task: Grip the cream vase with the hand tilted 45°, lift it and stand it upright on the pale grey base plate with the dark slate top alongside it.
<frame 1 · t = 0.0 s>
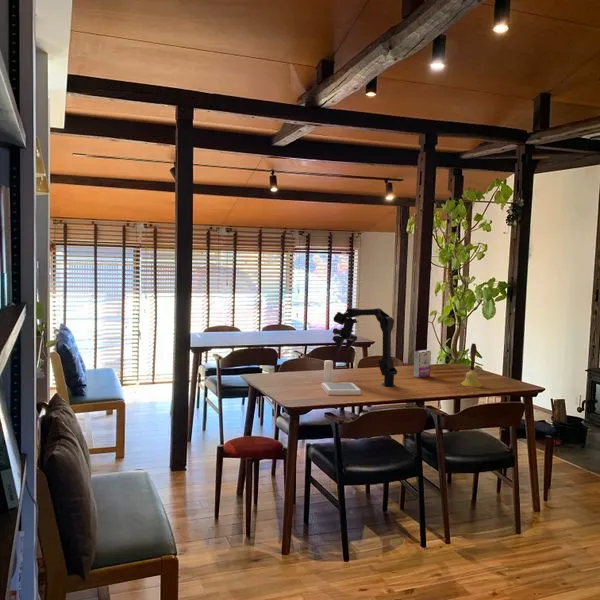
hand: (341, 351, 348), 15 cm above the table, tool pointing down, fingers open, 9 cm apart
cream vase: (327, 383, 327), on the table
candy bar box: (421, 376, 356), on the table
handbell: (471, 385, 336), on the table
base plate: (340, 390, 309), on the table
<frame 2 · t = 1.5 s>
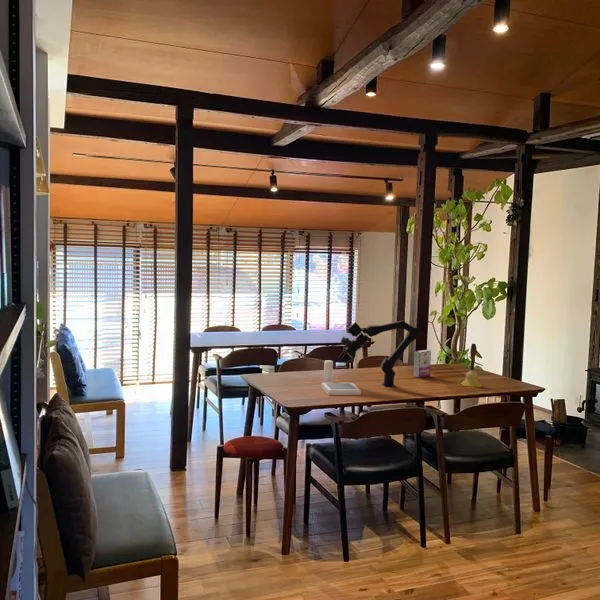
hand: (339, 360, 326), 13 cm above the table, tool tilted 45°, fingers open, 9 cm apart
nothing on the table moved.
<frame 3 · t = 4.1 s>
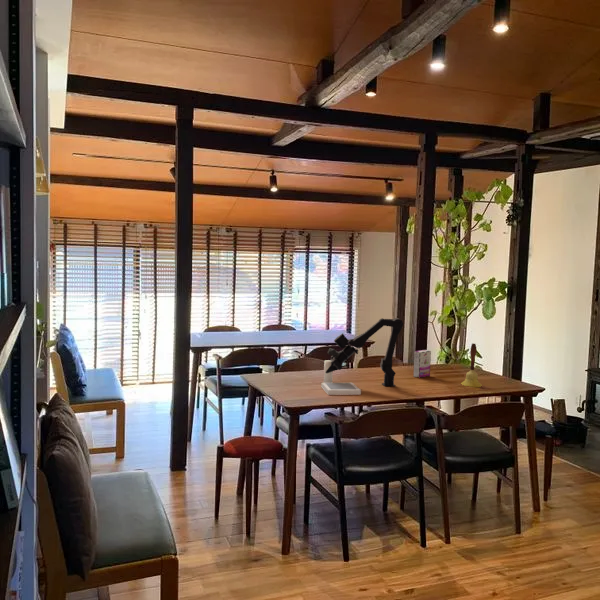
hand: (325, 371, 326), 7 cm above the table, tool tilted 45°, fingers closed on cream vase, 5 cm apart
cream vase: (327, 383, 327), on the table, touching gripper
everything else where it was.
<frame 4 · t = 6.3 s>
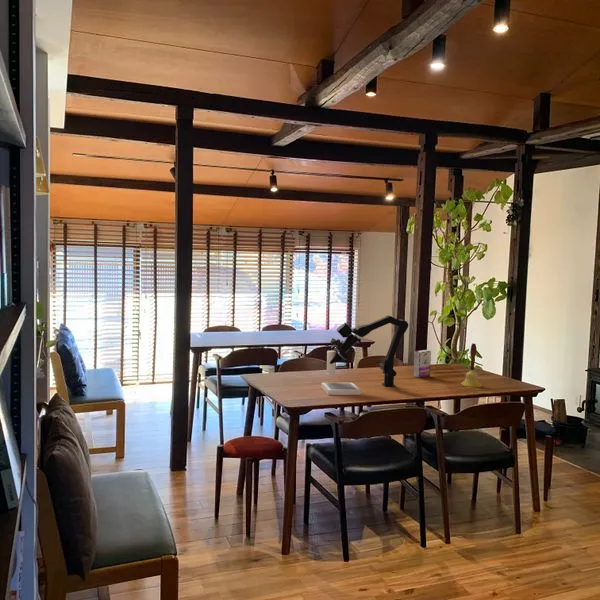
hand: (328, 362, 319), 13 cm above the table, tool tilted 45°, fingers closed on cream vase, 5 cm apart
cream vase: (330, 374, 319), point 7 cm above the table, touching gripper
everything else where it was.
when the fingers open (10 cm above the table, at t = 8.8 s): cream vase stays where it is, resting on base plate.
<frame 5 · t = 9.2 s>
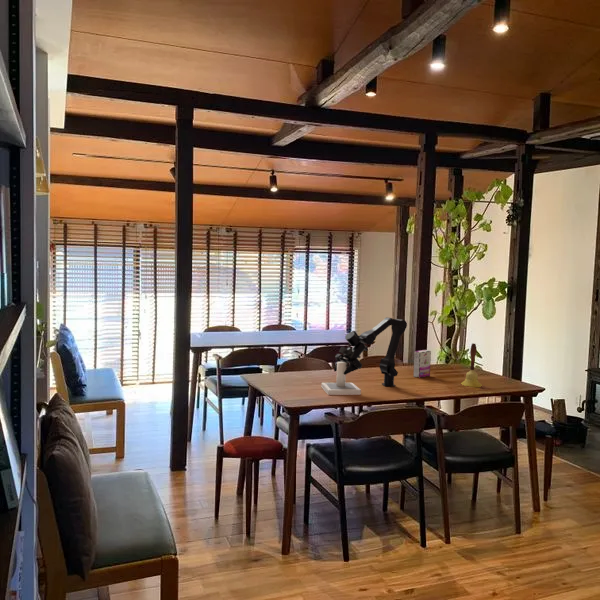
hand: (339, 372, 307), 10 cm above the table, tool tilted 45°, fingers open, 9 cm apart
cream vase: (340, 385, 309), point 3 cm above the table, touching base plate
everything else where it was.
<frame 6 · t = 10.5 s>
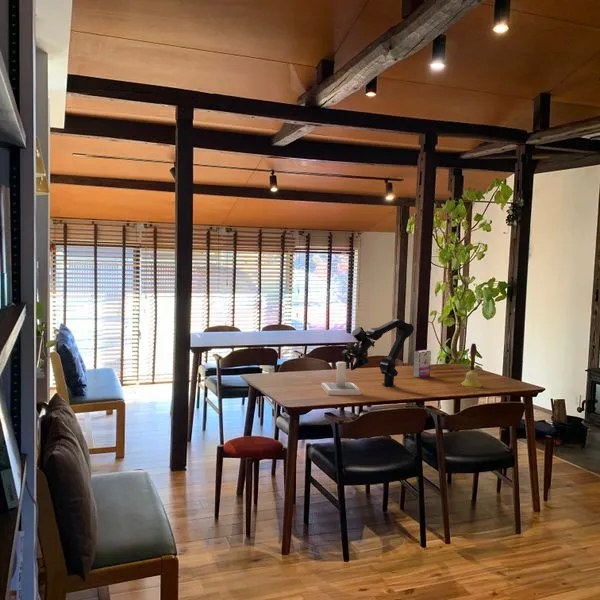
hand: (346, 368, 310), 12 cm above the table, tool tilted 45°, fingers open, 9 cm apart
nothing on the table moved.
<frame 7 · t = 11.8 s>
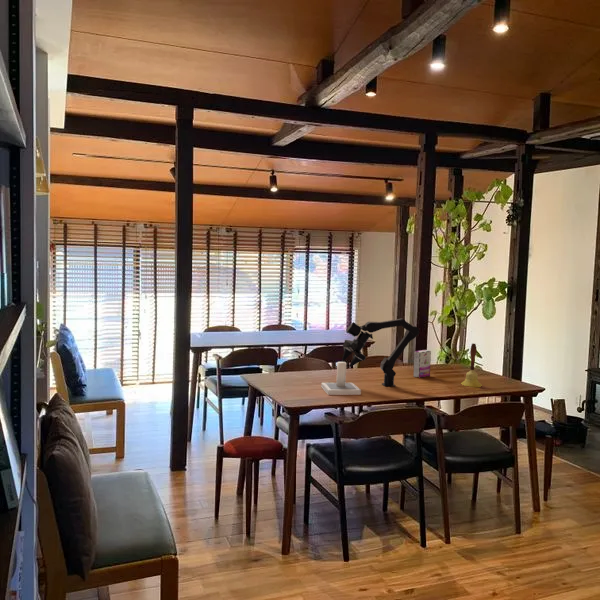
hand: (346, 363, 324), 12 cm above the table, tool tilted 30°, fingers open, 9 cm apart
nothing on the table moved.
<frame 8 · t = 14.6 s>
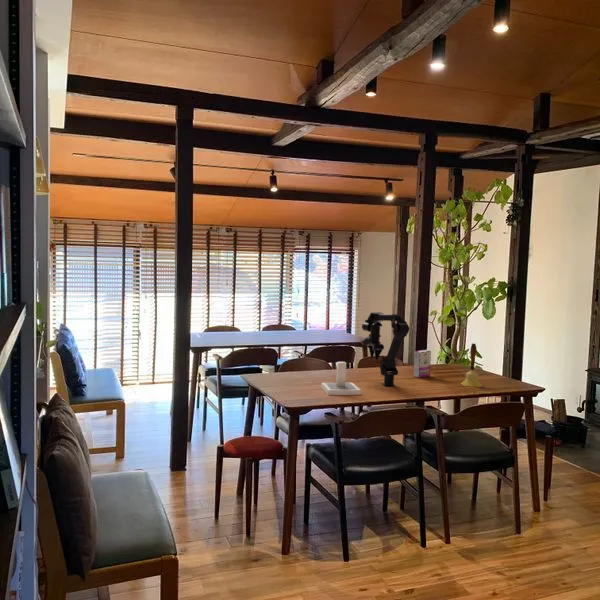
hand: (373, 358, 340), 13 cm above the table, tool pointing down, fingers open, 9 cm apart
nothing on the table moved.
at the end: cream vase inside the target area on the base plate (0.0 cm from its centre), point 2.7 cm above the base plate's base; cream vase tilted 0°; the gripper is holding nothing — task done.
